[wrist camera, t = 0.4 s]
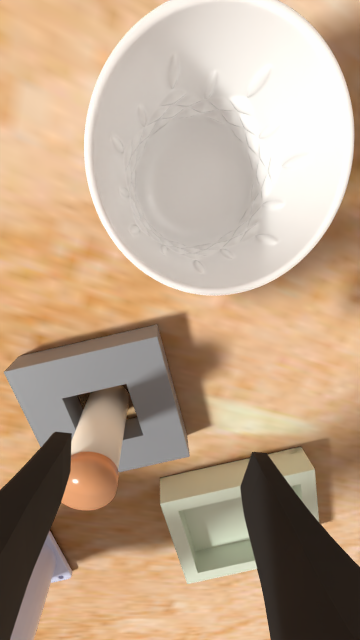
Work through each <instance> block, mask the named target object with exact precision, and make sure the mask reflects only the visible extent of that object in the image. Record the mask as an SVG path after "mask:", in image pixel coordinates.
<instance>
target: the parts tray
mask: <svg viewBox="0 0 360 640" xmlns="http://www.w3.org/2000/svg"><path fill="white" fill-rule="evenodd" d="M268 456H269V457H270V459H271V460H272V461H273V463H274V464H275V465H276V467H277V468H278V470H279V471H280V472H281V474H282V475H283V477H284V478H285V479H286V481H287V482H288V483H289V485H290V486H291V487H292V489H293V490H294V491H295V493H296V494H297V495H298V497H299V498H300V499H301V501H302V502H303V503H304V504H305V506H306V507H307V508H308V510H309V511H310V512H311V513H312V515H313V516H314V517H315V518H316V519H317V521H318V522H319V515H318V503H317V490H316V477H315V469H314V467H313V466H312V464H311V462H310V461H309V459H308V457H307V456H306V454H305V452H304V451H303V449H302V447H297V448H293V449H288V450H284V451H280V452H275V453H271V454H268ZM249 460H250V458H248V459H244V460H239V461H235V462H230V463H226V464H221V465H217V466H212V467H208V468H203V469H199V470H194V471H190V472H185V473H181V474H177V475H172V476H168V477H163V478H160V505H161V508H162V511H163V514H164V517H165V520H166V523H167V526H168V529H169V532H170V534H171V537H172V540H173V543H174V546H175V549H176V552H177V555H178V558H179V561H180V564H181V567H182V570H183V572H184V575H185V578H186V581H187V584H190V583H195V582H199V581H204V580H208V579H213V578H218V577H222V576H227V575H231V574H236V573H240V572H245V571H250V570H254V569H257V566H256V562H255V558H254V554H253V550H252V546H251V542H250V538H249V534H248V530H247V526H246V522H245V518H244V512H243V506H242V498H241V490H240V486H241V483H242V480H243V477H244V474H245V472H246V469H247V466H248V463H249Z"/></svg>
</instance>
